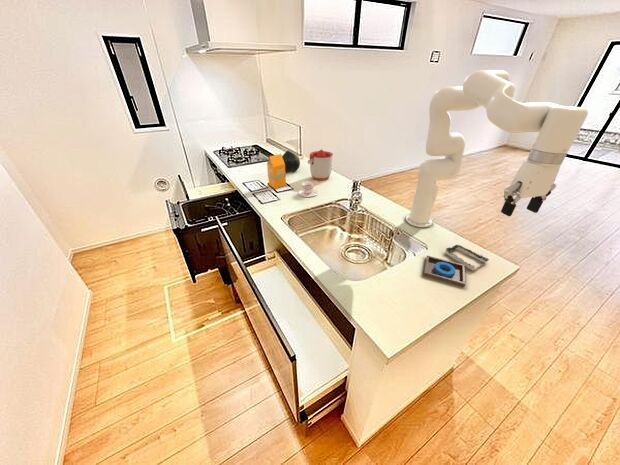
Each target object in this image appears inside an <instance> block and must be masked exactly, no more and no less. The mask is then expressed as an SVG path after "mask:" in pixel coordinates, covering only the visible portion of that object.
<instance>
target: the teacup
mask: <svg viewBox="0 0 620 465" xmlns="http://www.w3.org/2000/svg"><path fill="white" fill-rule="evenodd" d="M301 186H302V188H303V189H300V190H299V191H298V192H297V194H298V196H300V197H304V198H313V197H315V196H317V195H318V191H317V190H316V189H314V187H315V183H314V182H312V181H303V182H302V183H301Z"/></svg>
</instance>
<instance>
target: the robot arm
mask: <svg viewBox="0 0 620 465" xmlns="http://www.w3.org/2000/svg"><path fill="white" fill-rule="evenodd" d="M515 92H516V88H515V85H514V83H512V82H511V76H510V73H508V71H505V70H503V69H480V70H476V71H473V72H471V73H470V74H469V75H467V77H466V78H465V79H464V80H463V83H462V85H451V86H445V87H442V88H440V89H438V90H436V91H435V93H433V95H432V97H431V99H430V102H429V108H428V111H429V116H428V117H429V122H428V123H429V124H428V130H427V136H426V142H425V153H426V155H428V156H429V157H444V158H431V159H426V160H424V161H422V162H421V163H420V164H419V167H418V171H417V172H418V174H417V184H416V187H415V193H414V197H413V201H412V205H411V209H410V212H409V213H408V214H407V215H406V216H405V221H406V222H407V223H408V224H410V226H413V227H418V228H429V227H431V226H432V224H433V219H432V218H431V216H432V213H433V211H434V210H433V209H434V207H435V203H436V199H437V196H438V193H439V188H438V187H439V186H438V184H437V181H438V182H439V181H446V180H447V181H448V180H452V179H454V178H456V177H458V175H459V173H460V171H461V170H460V169H461V165H462V161H463V157H464V152H465V146H466V141H465V137H464V136H463V135H462V134H461V133H460V132H451V128H452V125H453V124H452V123H453V122H452V118H451V115H450V113H449V112H452V111H453V112H454V111H455V112H457V111H459V112H460V111H472V110H476V109H479V108H480V107H483V108H484V109H486V110H485V112H486V117H487V119H488V121H489V122H490V123H492V124H493V125H494V126H496V127H497V128H499V129H500V130H502V131H504V132H507V133H511V134H520V133H521V134H522V133H538V134H537V136H536V138H535V140H534V143H533V145H532V148H530V151H529V154H528V156H527V157H526V160H524V161H523V162H522V164H521V165H520V166H519V168H518V169H517V171H516V173H515V175H514V177H513V179H512V180H511V183H510V185H509V186H508V187H505V188H504V190H503V199H504V203H503V205H502V207H501V210H500V213H502V214H503V215H505V216H507V217H512V216H513V213H514V211H515V209H516V207H517V202H518V201H520V200H521V199H527V198H530V200H529V202H528V204H527V206H526V210H528V211H530V212H532V213H533V214H538V212H539V210H540V209H541V207H542V205H543V203H544V201H546V200H547V197H549V196H550V195H551V194H552V192H553V191H554V190H555V189H556V187H557V184H556V183H555V181H556V179H557V177H558V174H559V172H560V169H561V166H562V164H563V163H564V160H565V159H566V157H567V155H568V153H569V151H570V149H571V147H572V145H573V144H574V142H575V140H576V138H577V136H578V135H579V133H580V130H581V129H582V126H583V124H584V123H585V121H586V119H587V117H588V114H589V111H588V109H586V108H585V107H581V106H571V105H570V106H569V105H561V104H558V103H554V102H519V101H517V100H515V99H513V98H514V95H515Z"/></svg>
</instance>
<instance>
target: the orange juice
mask: <svg viewBox="0 0 620 465" xmlns="http://www.w3.org/2000/svg"><path fill="white" fill-rule="evenodd" d="M282 156H283V154H282V153H279V154H274V155H270V156H269V158H268V160H267V163H266V166H267V168H266V169H267V176H268V177H267V178H268V186H270V187H271V188H273V189H278V188H279V189H280V188H283V187H286V186H287V175H286V173H287V172H285V163H284V160H283V158H282Z"/></svg>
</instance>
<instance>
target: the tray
mask: <svg viewBox="0 0 620 465" xmlns="http://www.w3.org/2000/svg"><path fill="white" fill-rule="evenodd" d="M438 262H445V263H449V264H450V265H452V266H453V267H454V268H455V274H454V276H453V277H451V278H447V277H443V276H440V275H438V274H436V272H435V271H434V266H435V264H436V263H438ZM465 267H466V266H465V265H463V264H461V263H460V262H454V261H450V260H446V259H442V258H438V257H435V256H431V255H426V258H425V264H424V269H423V276H424V277H427V278H431V279H434V280H437V281H442V282H445V283H448V284H452V285H455V286H459V287H461V288H462V287H463V288H464V287H465V286H466V268H465ZM440 269H441V270H443V271H446V272H448V270H447V269H445V268H440Z"/></svg>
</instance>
